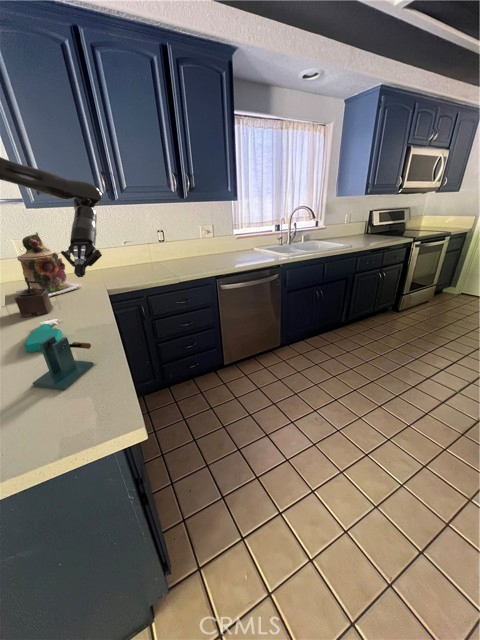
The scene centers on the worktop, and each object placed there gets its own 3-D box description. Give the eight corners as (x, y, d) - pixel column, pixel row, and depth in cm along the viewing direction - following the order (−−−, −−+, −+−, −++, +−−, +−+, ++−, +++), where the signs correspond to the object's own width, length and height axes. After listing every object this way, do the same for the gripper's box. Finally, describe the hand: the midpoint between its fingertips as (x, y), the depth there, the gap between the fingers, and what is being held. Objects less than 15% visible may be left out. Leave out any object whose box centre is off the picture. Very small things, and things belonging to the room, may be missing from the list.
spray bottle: (24, 354, 89) (34, 327, 109) (61, 346, 94) (65, 321, 114) (21, 346, 88) (32, 320, 108) (59, 338, 93) (63, 315, 113)
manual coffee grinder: (20, 318, 117) (5, 278, 109) (27, 309, 126) (13, 272, 119) (61, 312, 123) (49, 274, 115) (64, 304, 132) (53, 268, 124)
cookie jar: (14, 294, 147) (-9, 234, 133) (58, 282, 167) (42, 229, 153) (41, 300, 137) (19, 236, 123) (84, 287, 157) (69, 231, 144)
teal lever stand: (65, 362, 85) (54, 329, 80) (93, 365, 83) (84, 331, 78) (33, 386, 74) (18, 350, 69) (65, 389, 73) (51, 353, 68)
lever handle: (75, 348, 86) (76, 341, 86) (90, 349, 85) (91, 342, 85) (41, 349, 73) (42, 341, 74) (59, 351, 73) (60, 342, 73)
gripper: (58, 226, 89) (51, 271, 84) (99, 225, 91) (95, 269, 85) (69, 240, 96) (63, 282, 91) (107, 239, 98) (104, 280, 92)
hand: (79, 276), depth 88 cm, fingers closed
